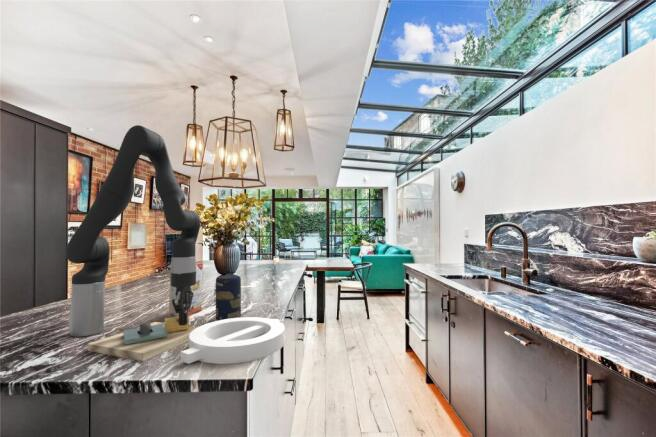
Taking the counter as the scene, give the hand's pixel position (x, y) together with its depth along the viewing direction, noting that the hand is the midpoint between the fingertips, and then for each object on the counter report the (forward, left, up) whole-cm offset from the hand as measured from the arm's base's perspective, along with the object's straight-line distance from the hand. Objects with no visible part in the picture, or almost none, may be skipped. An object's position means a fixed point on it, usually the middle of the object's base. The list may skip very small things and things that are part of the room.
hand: (183, 324), depth 100 cm
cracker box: (-22, +24, -5) cm, 33 cm away
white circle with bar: (+20, +2, -5) cm, 20 cm away
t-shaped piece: (-6, -4, -2) cm, 8 cm away
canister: (0, +23, -5) cm, 24 cm away
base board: (-8, -5, -5) cm, 10 cm away
